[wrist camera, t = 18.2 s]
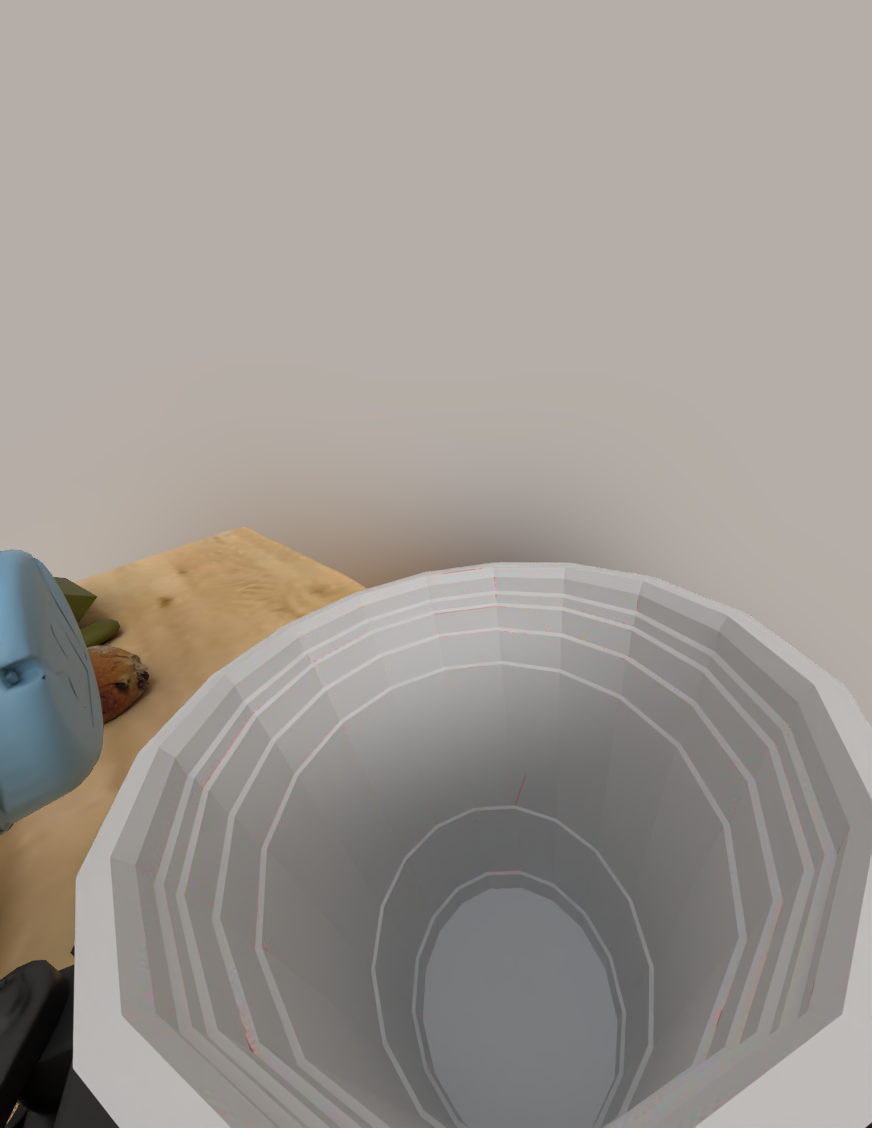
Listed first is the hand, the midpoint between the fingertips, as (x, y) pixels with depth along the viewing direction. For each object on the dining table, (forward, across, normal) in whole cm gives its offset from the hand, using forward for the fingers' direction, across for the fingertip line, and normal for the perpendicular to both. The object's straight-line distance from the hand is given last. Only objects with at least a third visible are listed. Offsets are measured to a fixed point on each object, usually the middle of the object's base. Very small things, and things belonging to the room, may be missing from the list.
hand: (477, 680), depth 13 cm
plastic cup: (-5, 0, -8) cm, 9 cm away
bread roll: (+21, -42, -17) cm, 50 cm away
